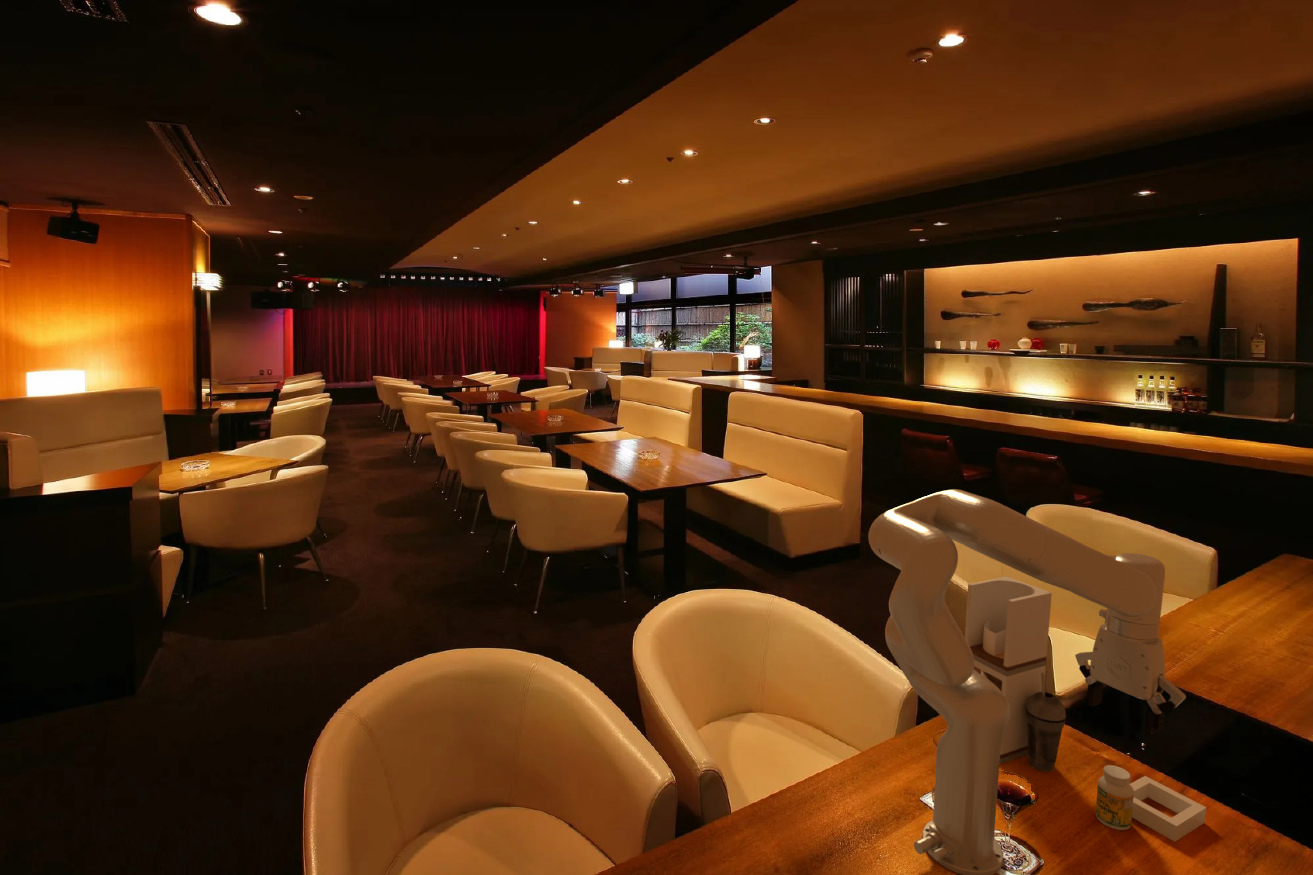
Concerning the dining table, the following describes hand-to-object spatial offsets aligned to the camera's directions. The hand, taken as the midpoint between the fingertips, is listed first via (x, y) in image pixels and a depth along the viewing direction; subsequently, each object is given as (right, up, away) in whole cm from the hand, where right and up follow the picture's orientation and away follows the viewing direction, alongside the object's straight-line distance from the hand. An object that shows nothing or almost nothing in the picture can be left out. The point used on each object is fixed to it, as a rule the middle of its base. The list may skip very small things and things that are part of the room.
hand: (1123, 717), depth 118 cm
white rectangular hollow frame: (+9, -20, +4) cm, 22 cm away
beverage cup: (-4, -18, +19) cm, 26 cm away
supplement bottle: (0, -20, +3) cm, 20 cm away
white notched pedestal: (-9, -17, +26) cm, 32 cm away
